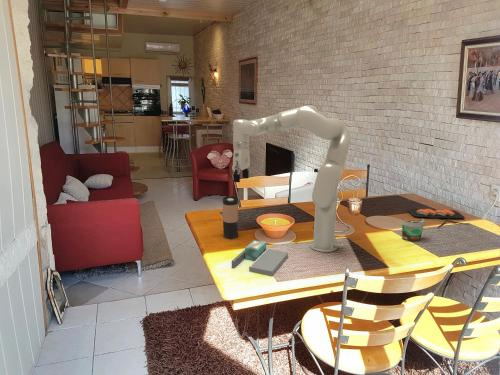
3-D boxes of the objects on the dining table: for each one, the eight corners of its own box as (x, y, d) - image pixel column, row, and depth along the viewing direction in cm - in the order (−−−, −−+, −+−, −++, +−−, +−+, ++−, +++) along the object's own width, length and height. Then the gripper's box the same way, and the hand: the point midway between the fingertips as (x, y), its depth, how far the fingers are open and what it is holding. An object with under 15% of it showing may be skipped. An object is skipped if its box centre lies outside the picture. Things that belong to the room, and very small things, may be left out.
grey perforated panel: (287, 256, 169) (288, 250, 168) (272, 276, 151) (272, 269, 151) (250, 249, 176) (250, 243, 175) (231, 267, 158) (231, 261, 158)
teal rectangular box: (266, 252, 173) (266, 241, 172) (257, 260, 164) (257, 250, 163) (254, 249, 175) (254, 239, 174) (245, 258, 167) (245, 247, 165)
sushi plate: (455, 213, 232) (456, 207, 231) (479, 230, 203) (480, 224, 202) (406, 211, 234) (406, 205, 234) (422, 228, 206) (423, 221, 205)
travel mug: (230, 232, 197) (229, 195, 192) (241, 236, 193) (241, 198, 188) (220, 236, 192) (219, 198, 187) (231, 240, 187) (230, 201, 182)
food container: (407, 243, 184) (409, 224, 181) (399, 239, 189) (401, 220, 187) (428, 241, 187) (431, 222, 184) (420, 236, 193) (422, 218, 190)
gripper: (240, 148, 174) (240, 184, 178) (255, 143, 189) (255, 177, 193) (225, 147, 177) (226, 183, 181) (241, 142, 192) (241, 175, 196)
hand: (241, 180), depth 187 cm, fingers open, 9 cm apart
